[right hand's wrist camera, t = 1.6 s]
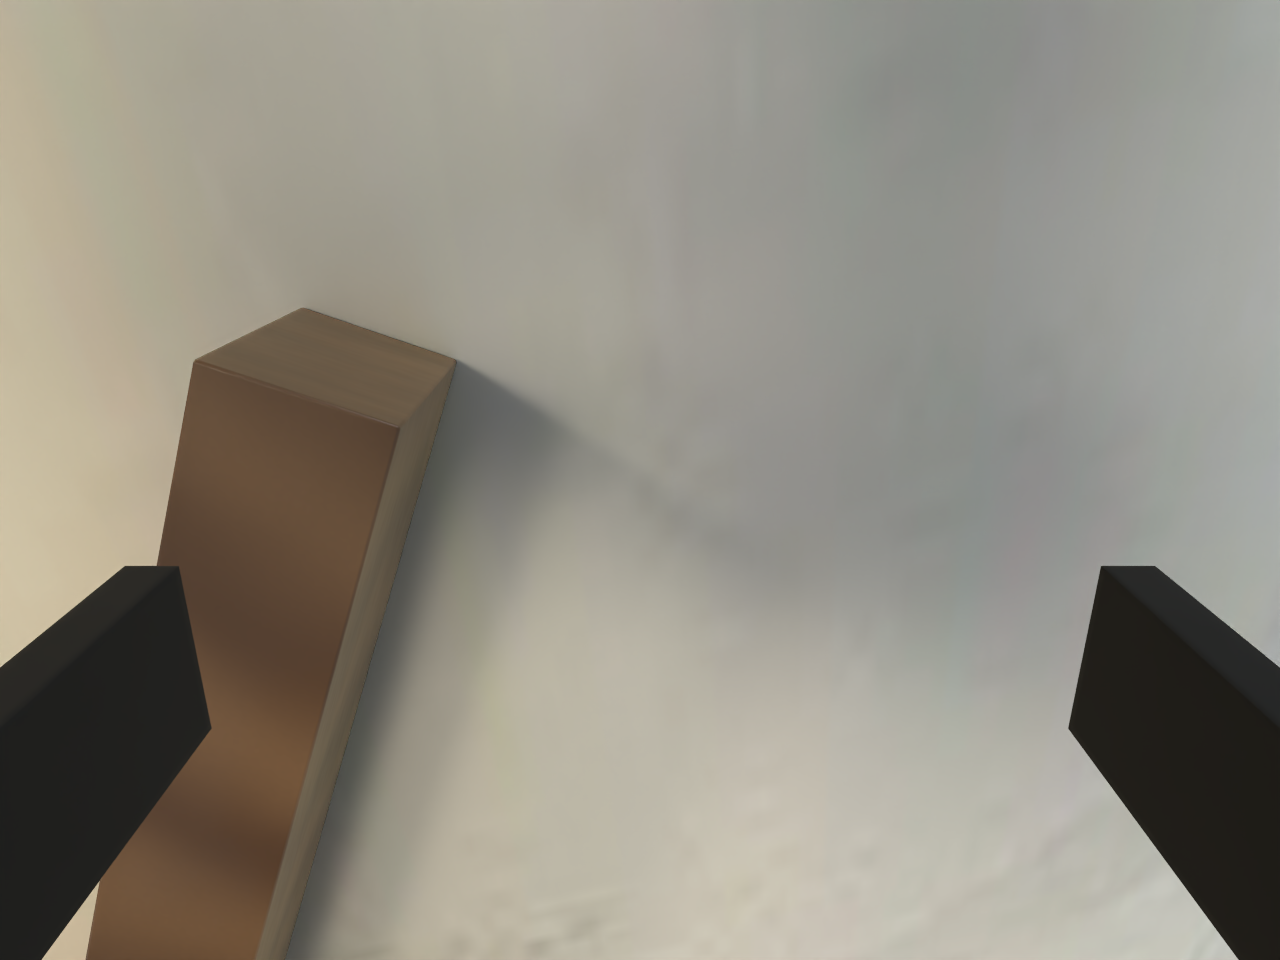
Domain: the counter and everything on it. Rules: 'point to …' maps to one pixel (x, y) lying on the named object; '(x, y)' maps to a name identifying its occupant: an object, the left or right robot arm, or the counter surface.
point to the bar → (273, 622)
